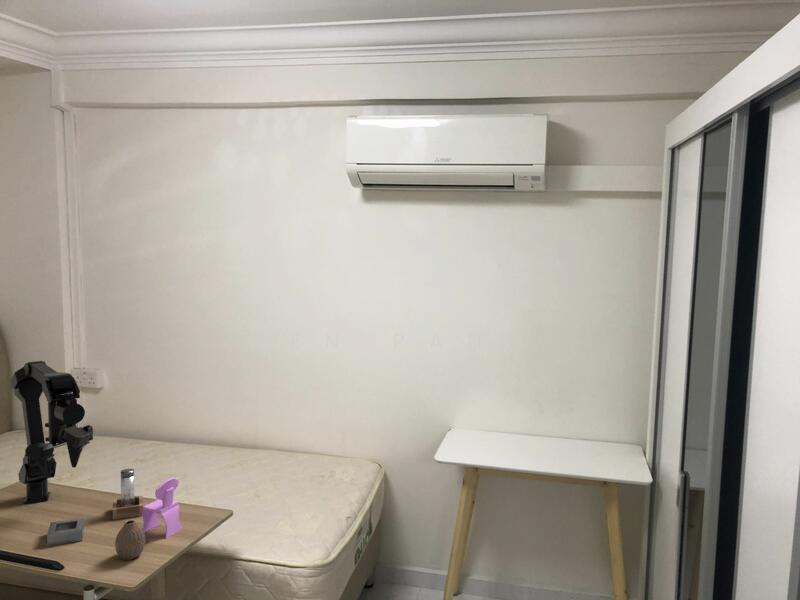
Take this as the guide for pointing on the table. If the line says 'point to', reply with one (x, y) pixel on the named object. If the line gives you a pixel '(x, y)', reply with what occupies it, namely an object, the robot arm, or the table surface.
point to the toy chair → (163, 508)
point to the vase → (130, 541)
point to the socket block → (65, 531)
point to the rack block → (127, 508)
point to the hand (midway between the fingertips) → (61, 472)
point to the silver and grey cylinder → (127, 488)
